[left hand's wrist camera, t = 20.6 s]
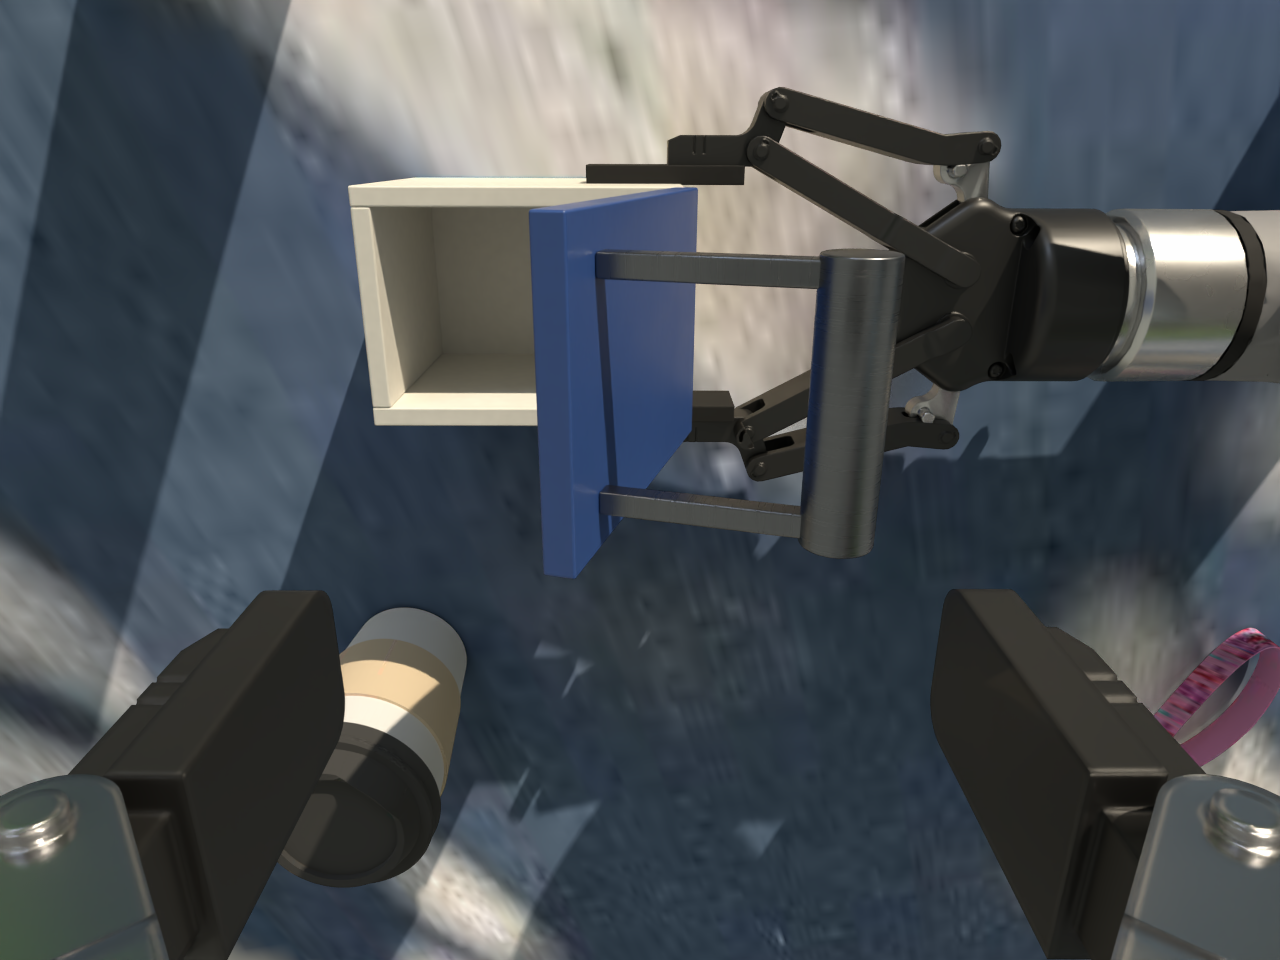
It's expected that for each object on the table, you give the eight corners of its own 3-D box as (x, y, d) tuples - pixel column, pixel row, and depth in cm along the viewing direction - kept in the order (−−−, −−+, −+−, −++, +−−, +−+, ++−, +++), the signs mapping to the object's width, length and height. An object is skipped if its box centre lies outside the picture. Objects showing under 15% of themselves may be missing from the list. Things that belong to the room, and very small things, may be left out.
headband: (1169, 772, 56) (1189, 796, 54) (1121, 748, 55) (1138, 771, 53) (1288, 646, 52) (1314, 666, 50) (1237, 618, 52) (1261, 638, 50)
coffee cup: (420, 741, 55) (346, 943, 41) (307, 656, 53) (186, 839, 39) (515, 655, 53) (469, 838, 39) (400, 562, 50) (308, 721, 36)
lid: (542, 576, 23) (865, 622, 21) (526, 209, 20) (910, 218, 18) (669, 429, 36) (882, 448, 33) (673, 187, 32) (910, 190, 30)
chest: (433, 364, 46) (374, 426, 36) (417, 177, 43) (346, 185, 33) (671, 365, 46) (680, 426, 36) (674, 177, 43) (685, 186, 33)
